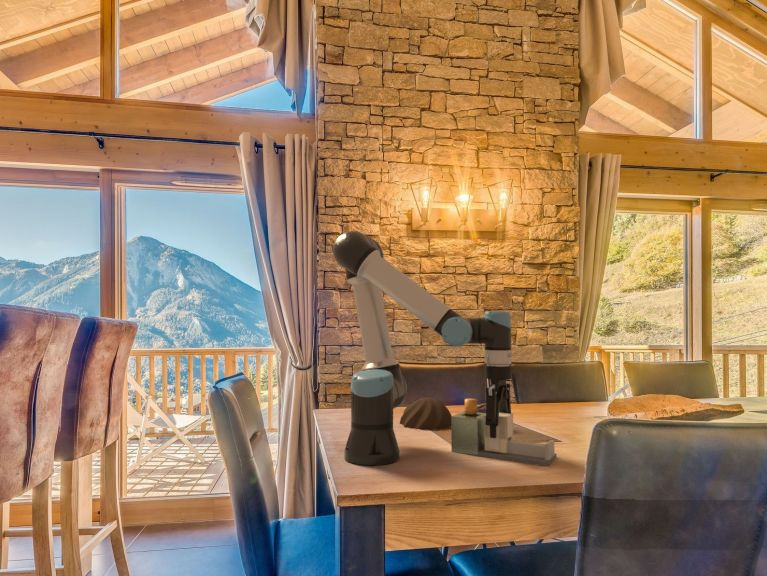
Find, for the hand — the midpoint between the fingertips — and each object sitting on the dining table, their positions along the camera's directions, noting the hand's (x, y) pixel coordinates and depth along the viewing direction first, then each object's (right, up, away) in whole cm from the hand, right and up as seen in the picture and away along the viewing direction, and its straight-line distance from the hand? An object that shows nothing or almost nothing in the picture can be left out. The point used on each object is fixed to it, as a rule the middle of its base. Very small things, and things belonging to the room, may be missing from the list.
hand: (499, 446), depth 142 cm
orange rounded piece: (-7, +8, +5) cm, 12 cm away
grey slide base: (+4, -2, -3) cm, 5 cm away
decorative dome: (-17, -5, +41) cm, 45 cm away
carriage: (0, -1, 0) cm, 1 cm away
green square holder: (-7, -2, +4) cm, 9 cm away
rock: (+3, -5, +33) cm, 33 cm away
